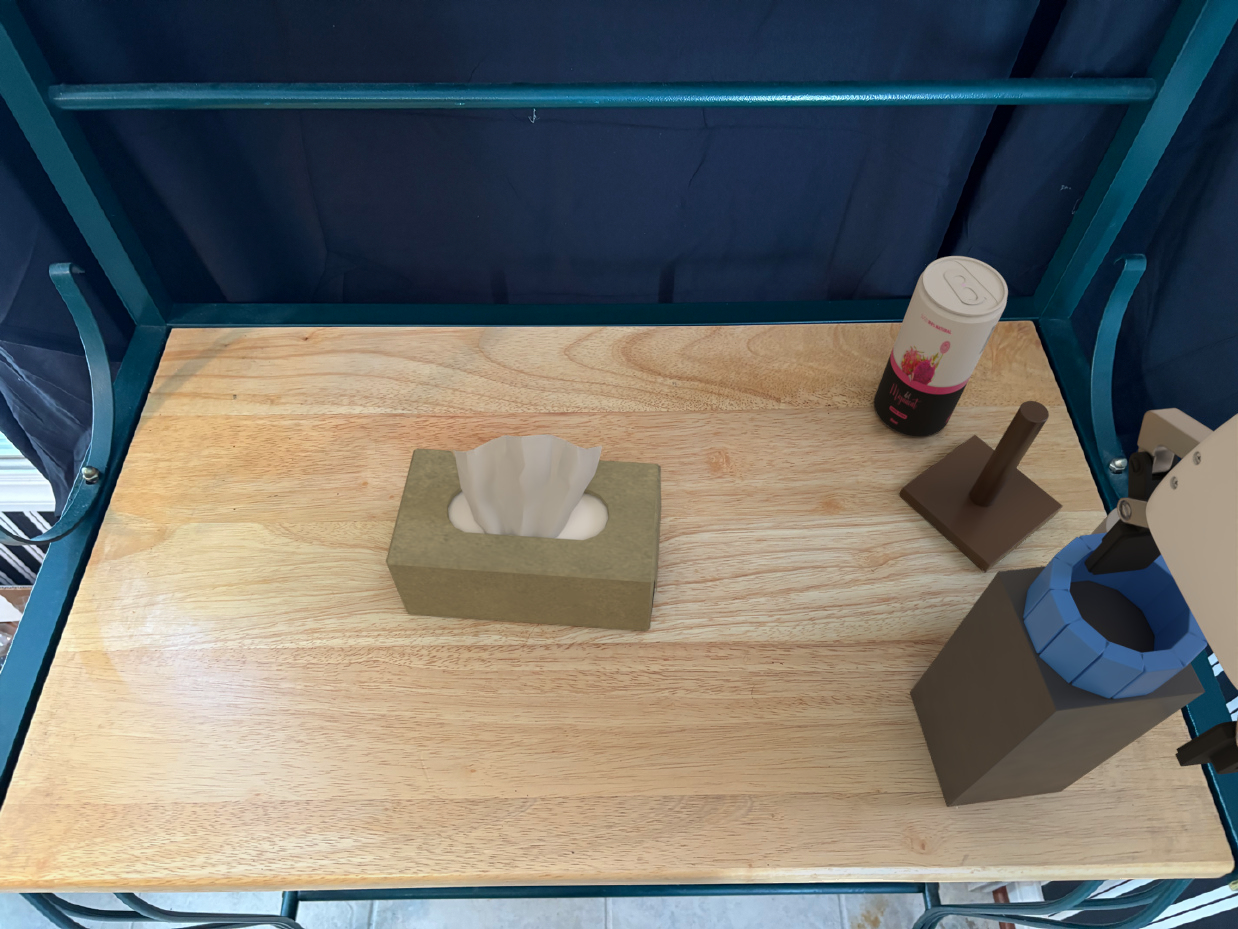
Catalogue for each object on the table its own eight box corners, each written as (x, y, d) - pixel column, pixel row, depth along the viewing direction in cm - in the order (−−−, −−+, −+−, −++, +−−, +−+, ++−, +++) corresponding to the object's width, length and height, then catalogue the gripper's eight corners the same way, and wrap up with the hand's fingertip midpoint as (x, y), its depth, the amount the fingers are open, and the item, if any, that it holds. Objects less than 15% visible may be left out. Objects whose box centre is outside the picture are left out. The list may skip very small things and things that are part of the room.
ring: (1202, 642, 48) (1241, 611, 45) (1116, 727, 45) (1151, 701, 42) (1081, 542, 51) (1110, 508, 48) (994, 616, 49) (1019, 584, 46)
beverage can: (892, 447, 77) (946, 323, 65) (860, 390, 81) (905, 263, 69) (961, 431, 79) (1027, 306, 66) (926, 375, 82) (982, 247, 70)
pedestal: (1061, 791, 61) (1205, 692, 46) (947, 807, 60) (1056, 711, 46) (1016, 679, 66) (1134, 555, 51) (909, 692, 65) (998, 571, 50)
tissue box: (659, 520, 73) (670, 394, 60) (653, 632, 67) (664, 520, 54) (427, 505, 74) (389, 377, 61) (402, 615, 68) (354, 499, 55)
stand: (1057, 513, 74) (1127, 421, 64) (985, 572, 71) (1047, 485, 61) (970, 442, 78) (1023, 345, 68) (898, 495, 75) (943, 401, 65)
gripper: (1742, 687, 25) (1332, 833, 39) (1369, 255, 35) (1149, 496, 49) (1493, 721, 24) (1168, 857, 38) (1184, 271, 34) (1015, 511, 48)
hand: (1157, 655), depth 44 cm, fingers open, 9 cm apart
